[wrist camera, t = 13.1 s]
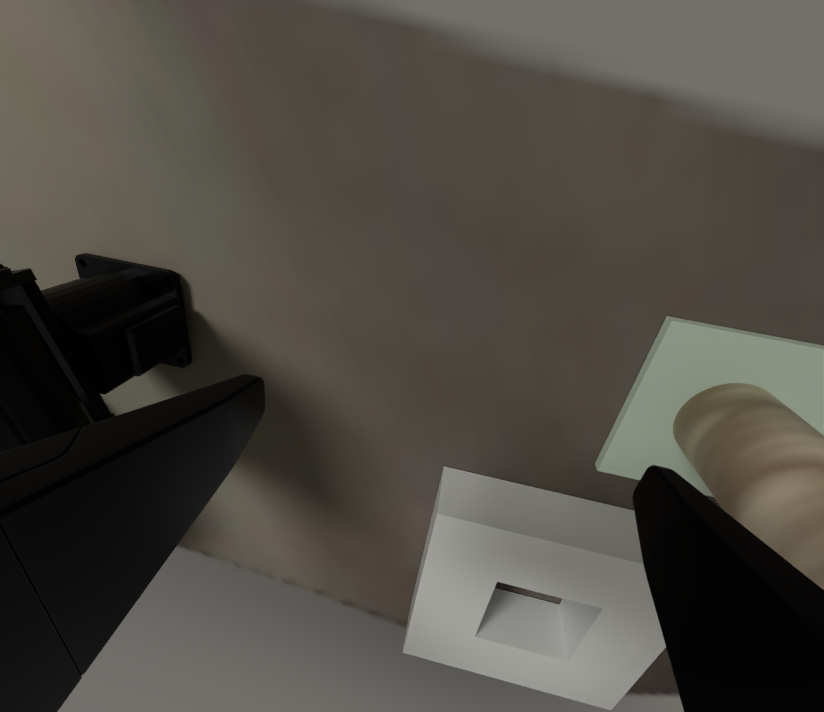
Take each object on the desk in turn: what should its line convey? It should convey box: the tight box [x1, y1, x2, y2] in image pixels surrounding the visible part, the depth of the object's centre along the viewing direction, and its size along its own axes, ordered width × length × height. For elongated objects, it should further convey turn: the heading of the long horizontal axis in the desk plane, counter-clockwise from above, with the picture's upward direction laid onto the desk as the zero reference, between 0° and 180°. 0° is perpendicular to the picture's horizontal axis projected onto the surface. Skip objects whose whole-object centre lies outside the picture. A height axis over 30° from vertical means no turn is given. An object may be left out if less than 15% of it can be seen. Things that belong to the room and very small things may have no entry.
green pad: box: [595, 316, 824, 497], centre depth 21 cm, size 10×10×1 cm
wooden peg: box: [673, 383, 824, 590], centre depth 15 cm, size 5×5×13 cm
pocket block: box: [403, 466, 666, 710], centre depth 28 cm, size 16×16×4 cm
